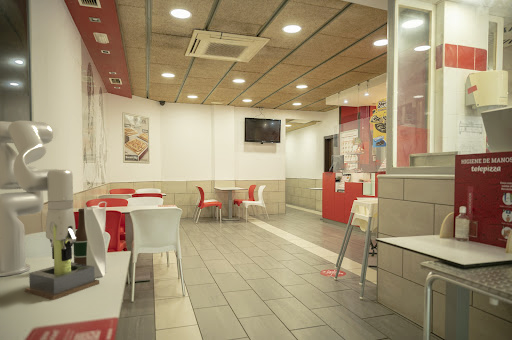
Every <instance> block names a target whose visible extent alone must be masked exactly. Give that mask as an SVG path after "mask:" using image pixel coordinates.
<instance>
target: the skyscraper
mask: <svg viewBox="0 0 512 340" xmlns="http://www.w3.org/2000/svg"><path fill="white" fill-rule="evenodd" d="M102 203H105V205H104V207H100V204H102ZM107 205H108V202H106V200H105V201H104V200H103V201H100V202H99V203H98V204H97V205H92V206H85V207H84V218H85V229H86V235H87V265H89V266H94V269H95V279H96V278H103V277H104V276H105V274H106V273H107V252H106V251H107V250H106V249H107V248H106V241H105V237H104V236H105V231H106V222H107V221H106V219H107V217H106V216H107V215H106V214H107V213H106V212H107ZM86 208H87V209H86Z"/></svg>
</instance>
